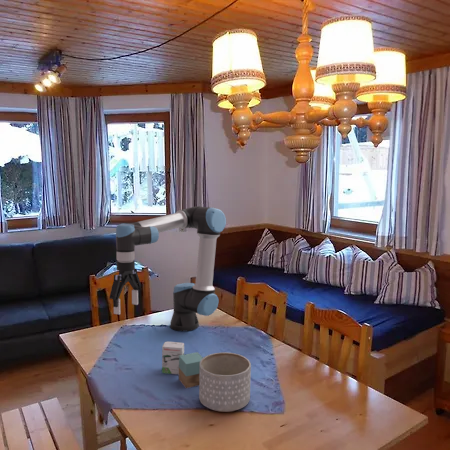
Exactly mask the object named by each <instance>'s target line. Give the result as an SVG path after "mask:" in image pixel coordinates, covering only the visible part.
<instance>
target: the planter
mask: <svg viewBox="0 0 450 450" xmlns="http://www.w3.org/2000/svg"><path fill="white" fill-rule="evenodd" d="M251 371H252V364H251V361H250V360H249V359H248V358H247V357H245V356H244V355H241V354H239V353H234V352H226V351H224V352H216V353H215V352H214V353H211V354H207V355H206V356H204V357H203V358H202V359H201V361H200V363H199V385H198V389H199V391H198V399H199V401H200V403H201V404H202V405H203V406H204V407H205V408H207V409H210V410H212V411H215V412H219V413H221V412H222V413H229V412H235V411H237V410H240V409H243V408H244V407H246V406H247V405H248V404H249V403H250V400H251V380H252V379H251V378H252V377H251V376H252V375H251V373H252V372H251Z"/></svg>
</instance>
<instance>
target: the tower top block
mask: <svg viewBox="0 0 450 450" xmlns="http://www.w3.org/2000/svg"><path fill="white" fill-rule="evenodd" d="M202 358H204V357H203V356H202V354H200V353H199V352H197V351H195V352H191V353H187V354H185V353H184V355H180V356H179V368H180V369H181V371H182V372H183V373H184V374H185V376H191V375H195V374H199V363H200V361H201V359H202Z"/></svg>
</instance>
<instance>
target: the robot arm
mask: <svg viewBox="0 0 450 450" xmlns="http://www.w3.org/2000/svg"><path fill="white" fill-rule="evenodd" d="M226 225H227V219H226V215H225V213H224V212H223V210H221V209H219V208H215V207H208V206H199V205H197V206H192V207H187V208H183V209H179V210H177V211H176V212H175V213H170V214H166V215H162V216H157V217H154V218H153V217H152V218H150V219H149V218H148V219H144V220H140V221H137V222H135V221H134V222H131V223H127V222H126V223H125V222H124V223H123V222H121V223H120V224H118V225H116V228H115V229H116V230H115V245H116V270H117V271H118V274H114V275H113V282H112V284H111V285H112V286H111V289H110V294H109V299H110V300H112V304H113V305H112V306H113V314H114V315H121V298H120V296H121V294H122V291H123V288H124V286H126V284H127V283H128V284H129V285H130V287H131V288H132V289H131V305H135V306H138V305H139V291H140V290H141V288H142V283H141V280H140V277H139V275H138V269H137V268H136V266H135V265H136V264H135V263H136V261H135V260H136V256H135V247H136V246H143V245H151V244H155V243H157V242H158V240H159V237H160V233H163V232H169V231H172V230H175V229H181V230H182V229H188V228H189V229H197V230H196V234H197V236H198V237H199V238H198V239H199V243H198V250H197V251H198V252H197V263H196V264H197V265H196V274H195V275H196V276H195V283H193V282H184V283H183V282H182V283H178V284H175V286H173V298H172V299H173V301H172V304H173V313H172V316H171V318H170V319H171V320H170V323H169V324H170V325H169V326H170V329H171V330H174V331H177V332H190V331H194V330H197V329H198V328H199V327H200V326H199V324H200V323H199V318H198V315H200V316H205V317H209V316H211V315H212V314H214V313H215V311H216V310H217V309H218V307H219V297H218V295H217V294H216V292H215V291H216V288H215V287H214V286H213V281H214V272H215V271H214V269H215V261H216V260H215V258H216V250H217V249H216V248H217V239H218V238H219V237H220V236H221V232H223V231H224V230H225V228H226ZM197 314H198V315H197Z"/></svg>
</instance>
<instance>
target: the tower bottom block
mask: <svg viewBox="0 0 450 450" xmlns="http://www.w3.org/2000/svg"><path fill="white" fill-rule="evenodd" d="M178 381H179V382H181V384H182V385H183V387H184V388H185V389H190V388H193V387H199V374H195V375H191V376H185V374H184V373H183V372H182V371H181V369H180V368H179V374H178Z"/></svg>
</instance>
